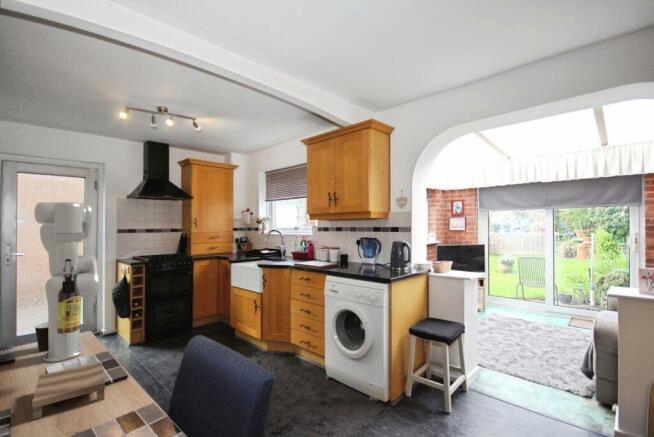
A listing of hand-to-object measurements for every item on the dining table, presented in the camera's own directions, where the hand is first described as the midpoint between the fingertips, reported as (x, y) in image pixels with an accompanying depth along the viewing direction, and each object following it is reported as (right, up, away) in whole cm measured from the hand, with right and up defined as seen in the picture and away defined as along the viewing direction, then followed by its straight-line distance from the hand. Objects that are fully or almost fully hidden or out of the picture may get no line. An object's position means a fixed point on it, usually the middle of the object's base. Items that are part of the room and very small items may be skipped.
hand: (68, 290), depth 108 cm
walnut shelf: (+10, -30, -11) cm, 33 cm away
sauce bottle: (0, -14, 0) cm, 14 cm away
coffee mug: (-27, -30, +25) cm, 47 cm away
